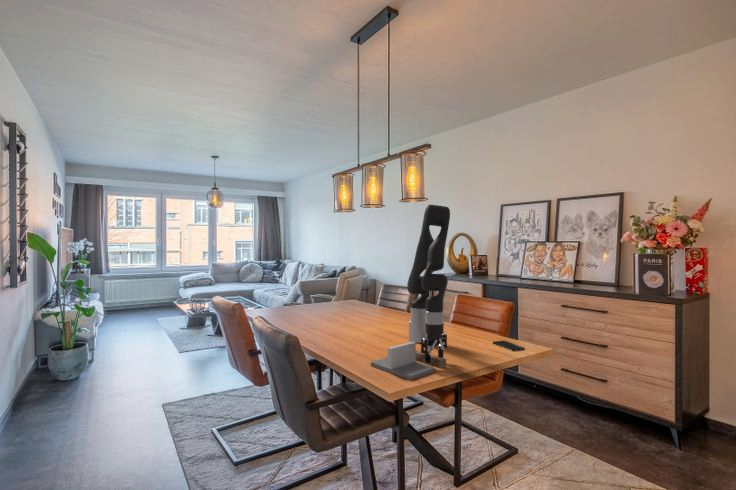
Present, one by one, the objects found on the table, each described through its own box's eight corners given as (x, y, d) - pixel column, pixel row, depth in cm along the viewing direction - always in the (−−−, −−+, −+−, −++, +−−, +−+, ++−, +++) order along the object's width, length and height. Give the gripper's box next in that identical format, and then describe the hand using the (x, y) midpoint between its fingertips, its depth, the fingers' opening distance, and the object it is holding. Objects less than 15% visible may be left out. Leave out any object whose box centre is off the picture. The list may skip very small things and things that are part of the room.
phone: (504, 340, 198) (525, 348, 184) (504, 342, 198) (525, 350, 184) (491, 341, 195) (512, 349, 181) (491, 344, 195) (512, 352, 181)
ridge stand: (370, 365, 160) (370, 342, 160) (394, 358, 169) (394, 337, 169) (410, 380, 144) (410, 354, 143) (434, 371, 153) (434, 347, 153)
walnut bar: (405, 357, 172) (405, 349, 172) (409, 356, 174) (409, 348, 174) (441, 369, 157) (441, 360, 157) (446, 367, 159) (446, 358, 159)
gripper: (438, 318, 169) (438, 355, 169) (416, 322, 160) (416, 362, 160) (452, 321, 164) (452, 359, 164) (430, 325, 154) (430, 367, 154)
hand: (434, 361), depth 162 cm, fingers open, 8 cm apart
